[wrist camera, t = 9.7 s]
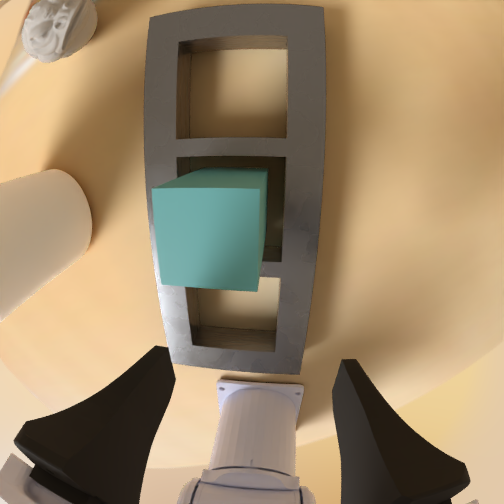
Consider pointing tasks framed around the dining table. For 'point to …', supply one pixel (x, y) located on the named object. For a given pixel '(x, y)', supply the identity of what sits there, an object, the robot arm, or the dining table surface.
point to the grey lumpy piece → (58, 28)
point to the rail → (292, 148)
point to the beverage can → (39, 233)
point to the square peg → (212, 228)
